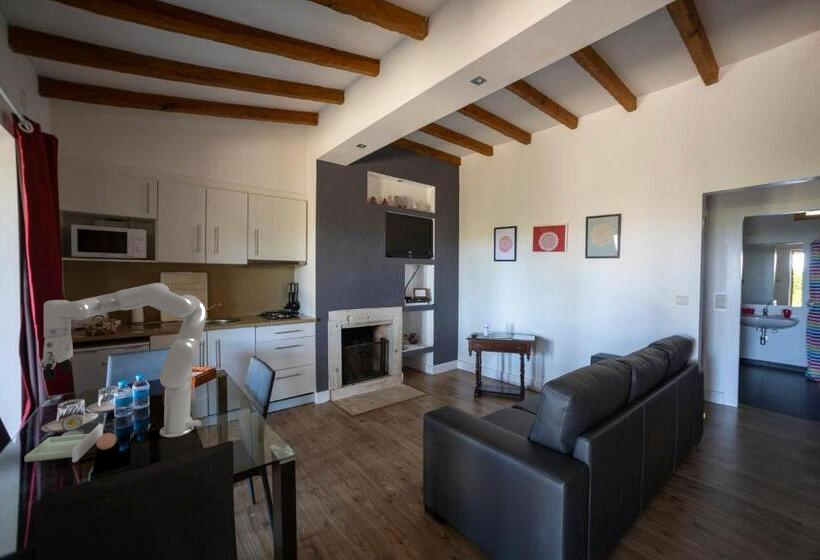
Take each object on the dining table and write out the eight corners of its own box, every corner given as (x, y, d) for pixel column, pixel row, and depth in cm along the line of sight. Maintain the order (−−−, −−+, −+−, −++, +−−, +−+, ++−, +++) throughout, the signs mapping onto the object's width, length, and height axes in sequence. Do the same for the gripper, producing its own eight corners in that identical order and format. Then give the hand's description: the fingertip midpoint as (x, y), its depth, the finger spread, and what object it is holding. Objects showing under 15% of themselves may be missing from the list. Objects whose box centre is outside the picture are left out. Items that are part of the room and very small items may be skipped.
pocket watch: (69, 440, 143) (69, 416, 143) (53, 437, 145) (53, 413, 145) (91, 431, 151) (91, 408, 151) (76, 428, 153) (76, 405, 153)
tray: (92, 438, 146) (92, 433, 146) (73, 457, 132) (73, 451, 132) (48, 442, 141) (48, 437, 141) (24, 462, 128) (24, 456, 128)
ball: (119, 443, 143) (119, 429, 143) (112, 451, 137) (112, 436, 137) (100, 445, 141) (100, 431, 141) (93, 453, 135) (93, 438, 135)
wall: (102, 435, 148) (102, 424, 148) (76, 461, 130) (76, 448, 129) (99, 436, 148) (99, 424, 148) (72, 462, 129) (72, 449, 129)
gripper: (56, 336, 131) (56, 382, 132) (81, 327, 147) (81, 367, 148) (29, 337, 128) (30, 383, 129) (59, 327, 145) (59, 368, 146)
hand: (57, 375), depth 139 cm, fingers open, 9 cm apart
